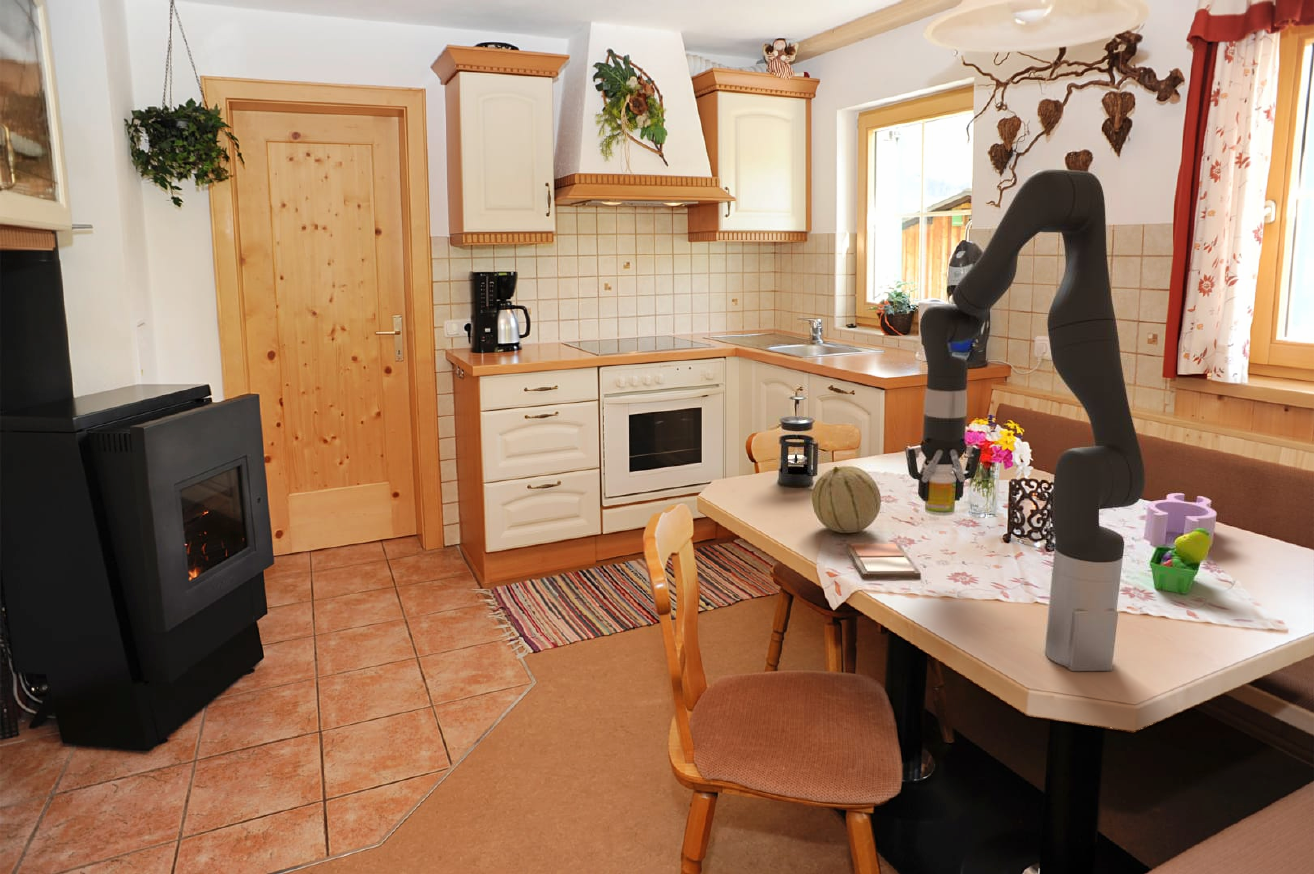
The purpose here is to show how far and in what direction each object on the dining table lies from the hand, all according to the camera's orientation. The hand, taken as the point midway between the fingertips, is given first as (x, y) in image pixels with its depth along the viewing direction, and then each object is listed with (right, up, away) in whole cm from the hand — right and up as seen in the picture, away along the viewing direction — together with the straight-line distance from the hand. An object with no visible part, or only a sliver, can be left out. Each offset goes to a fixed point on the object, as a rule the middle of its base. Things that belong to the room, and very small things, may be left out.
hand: (940, 499), depth 166 cm
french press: (-17, 0, +63) cm, 65 cm away
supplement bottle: (0, -3, +1) cm, 3 cm away
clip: (+58, -10, +20) cm, 62 cm away
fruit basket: (+42, -16, -5) cm, 45 cm away
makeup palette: (-9, -13, +7) cm, 18 cm away
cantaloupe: (-13, -9, +26) cm, 30 cm away
